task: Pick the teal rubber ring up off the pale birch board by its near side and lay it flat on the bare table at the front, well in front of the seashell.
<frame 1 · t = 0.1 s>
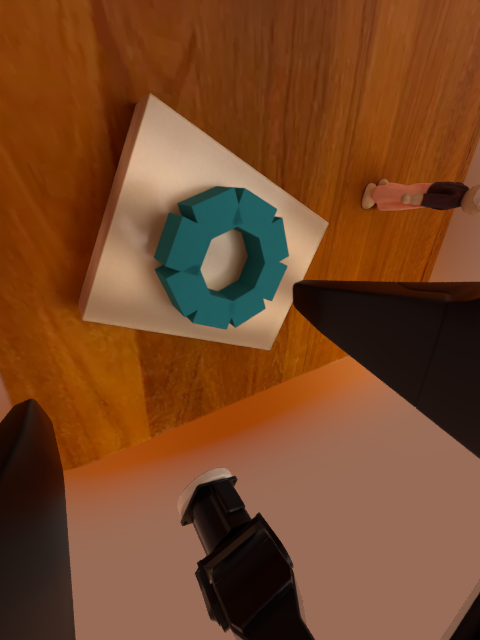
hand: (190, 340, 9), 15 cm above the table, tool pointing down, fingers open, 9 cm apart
grandmother figurine: (375, 193, 33), on the table
ring: (219, 258, 22), point 3 cm above the table, touching board
board: (212, 254, 25), on the table
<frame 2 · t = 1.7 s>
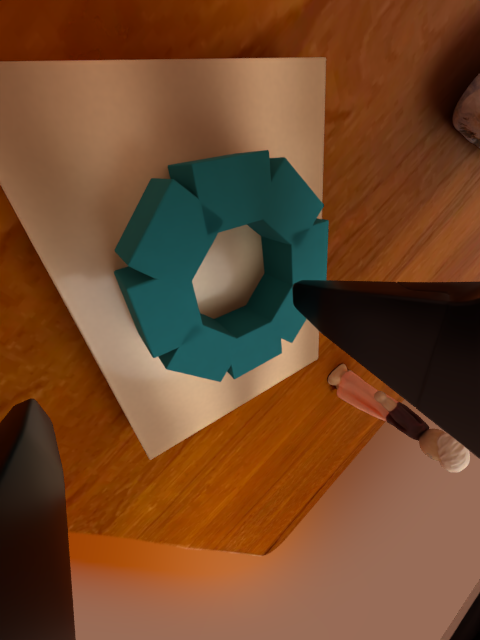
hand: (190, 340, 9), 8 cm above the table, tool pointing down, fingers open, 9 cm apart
grandmother figurine: (340, 377, 32), on the table
ring: (222, 269, 14), point 3 cm above the table, touching board
seashell: (467, 123, 26), on the table
board: (201, 272, 17), on the table
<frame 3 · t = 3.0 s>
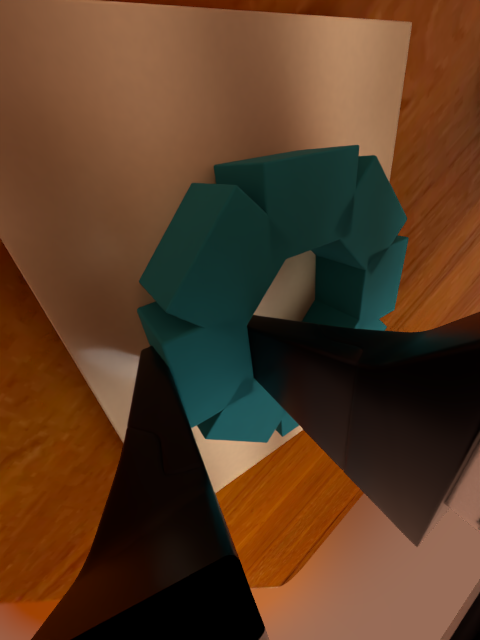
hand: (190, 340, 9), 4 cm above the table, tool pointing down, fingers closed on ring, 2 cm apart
ring: (269, 298, 11), point 3 cm above the table, touching board, gripper
board: (234, 294, 14), on the table
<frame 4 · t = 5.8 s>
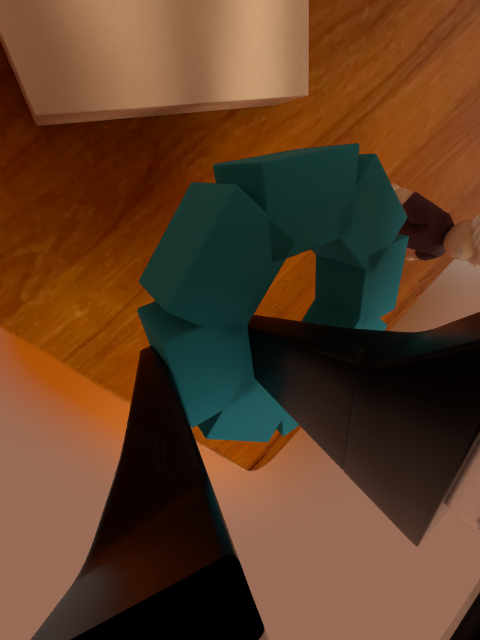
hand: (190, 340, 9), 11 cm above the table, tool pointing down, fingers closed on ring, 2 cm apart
grandmother figurine: (338, 220, 26), on the table
ring: (269, 297, 11), point 10 cm above the table, touching gripper
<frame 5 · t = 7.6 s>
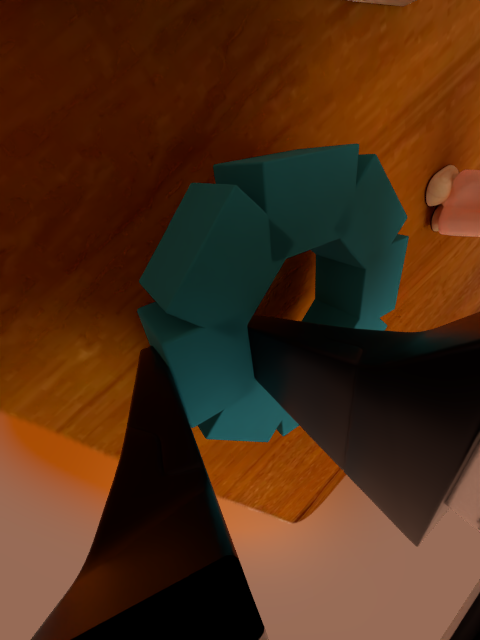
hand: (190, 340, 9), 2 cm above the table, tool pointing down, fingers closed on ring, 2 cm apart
grandmother figurine: (438, 204, 19), on the table
ring: (269, 297, 11), point 2 cm above the table, touching gripper
when the fingers open (0 cm above the table, at t = 8.4 s): ring stays where it is, on the table.
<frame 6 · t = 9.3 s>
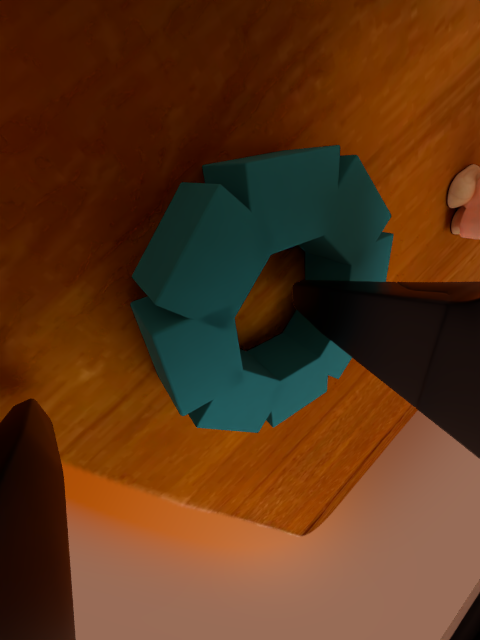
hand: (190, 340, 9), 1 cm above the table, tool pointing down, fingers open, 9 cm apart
grandmother figurine: (458, 206, 18), on the table
ring: (259, 293, 11), on the table
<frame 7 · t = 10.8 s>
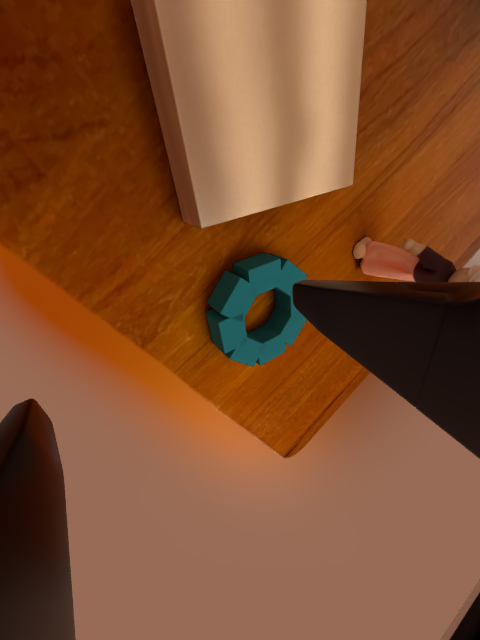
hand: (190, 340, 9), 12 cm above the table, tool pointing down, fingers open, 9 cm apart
grandmother figurine: (363, 256, 33), on the table
ring: (253, 306, 26), on the table
board: (250, 48, 17), on the table
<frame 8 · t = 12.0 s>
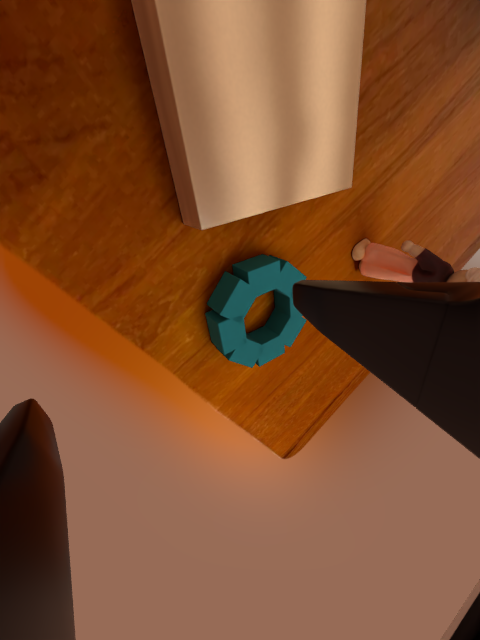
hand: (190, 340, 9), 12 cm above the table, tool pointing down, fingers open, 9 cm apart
grandmother figurine: (362, 257, 33), on the table
ring: (253, 308, 26), on the table
board: (250, 52, 18), on the table
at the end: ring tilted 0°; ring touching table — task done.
